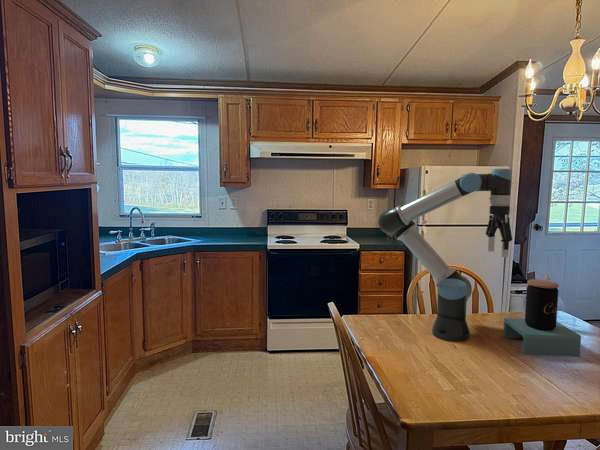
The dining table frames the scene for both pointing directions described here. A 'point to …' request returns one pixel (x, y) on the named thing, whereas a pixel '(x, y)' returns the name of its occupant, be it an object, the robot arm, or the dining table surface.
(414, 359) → the dining table surface
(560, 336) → the green riser stand
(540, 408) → the dining table surface
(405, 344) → the dining table surface
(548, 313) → the coffee jar
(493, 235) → the robot arm
